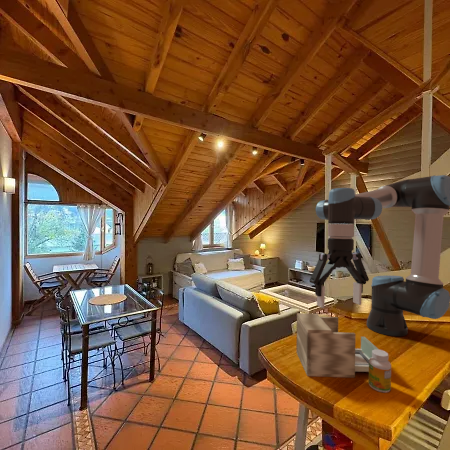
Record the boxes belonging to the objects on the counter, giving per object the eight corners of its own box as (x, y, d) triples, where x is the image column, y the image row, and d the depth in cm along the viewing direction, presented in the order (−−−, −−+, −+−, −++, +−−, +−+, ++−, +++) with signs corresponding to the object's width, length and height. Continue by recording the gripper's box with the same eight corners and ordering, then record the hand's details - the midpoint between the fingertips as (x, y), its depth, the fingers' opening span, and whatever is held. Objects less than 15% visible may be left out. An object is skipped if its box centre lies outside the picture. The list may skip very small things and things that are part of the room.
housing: (336, 353, 91) (337, 314, 91) (354, 377, 77) (355, 330, 77) (296, 352, 92) (296, 313, 92) (307, 376, 78) (307, 329, 78)
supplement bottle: (364, 383, 75) (364, 349, 75) (377, 379, 77) (378, 346, 76) (381, 395, 70) (381, 359, 70) (395, 390, 72) (396, 355, 71)
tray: (364, 353, 91) (364, 336, 91) (387, 377, 77) (387, 356, 77) (323, 352, 91) (324, 335, 91) (339, 375, 78) (339, 355, 78)
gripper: (363, 236, 89) (362, 298, 89) (298, 237, 82) (297, 303, 82) (382, 238, 81) (380, 305, 82) (313, 238, 75) (311, 311, 75)
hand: (339, 305), depth 82 cm, fingers open, 13 cm apart
